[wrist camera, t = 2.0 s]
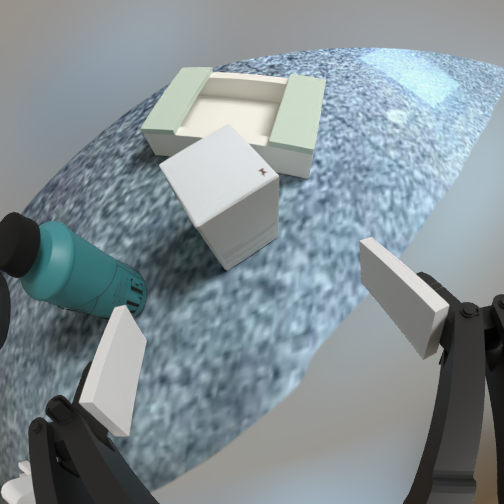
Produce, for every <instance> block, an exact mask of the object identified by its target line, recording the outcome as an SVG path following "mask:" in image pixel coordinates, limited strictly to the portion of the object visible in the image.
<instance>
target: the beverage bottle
mask: <svg viewBox="0 0 504 504" xmlns="http://www.w3.org/2000/svg"><path fill="white" fill-rule="evenodd" d="M127 265H128V264H127ZM128 266H129V265H128ZM128 266H126V264H125V263H121V262H120V260H119V261H118V260H117V259H116V258H113V257H112V256H110V255H107V254H106V253H104V252H103V251H101V250H100V249H98V248H97V247H95V246H94V245H92V244H91V243H89V242H87V241H86V240H84V239H83V238H82V237H80V236H79V235H77V234H76V233H74V232H73V231H71V230H70V229H69V228H68V227H67V226H66V225H64V224H63V223H61V222H57V221H50V222H46V223H44V224H42V225H40V226H38V224H37V223H36V222H35V221H33V220H32V219H30V218H26V217H25V216H23V215H21V214H19V213H16V212H13V213H10V214H8V215H6V216H5V217H4V218H3V220H2V221H1V222H0V270H2V271H4V272H6V273H7V274H8V275H10V276H12V277H15V278H20V280H21V283H22V286H23V288H24V290H25V292H26V293H27V294H28V295H29V296H30V297H31V298H33V299H35V300H38V301H45V302H48V303H49V304H50V303H51V304H54V305H57V306H58V307H59V308H60V306H61V308H62V307H65V308H68V309H67V310H69V311H73V310H74V312H77V311H80V313H81V312H83V313H87V314H86V315H88V314H92V315H96V316H98V317H99V316H101V317H104V318H103V319H107V318H109V319H110V317H111V315H112V312H113V310H114V308H115V307H119V306H123V305H126V306H127V308H128V310H129V312H130V313H131V315H132V317H133V318H134V317H136V316H137V315H138V314H139V313H140V312H141V311H142V309H143V307H144V305H145V302H146V298H147V289H146V284H145V281H144V280H143V278H142V277H141V276H142V275H140V274H139V272H138V271H137V272H136V271H135V270H133V268H132V267H131V268H132V269H131V268H130V266H129V267H128ZM62 309H64V308H62ZM65 310H66V309H65ZM101 317H100V318H101ZM109 319H108V320H109Z"/></svg>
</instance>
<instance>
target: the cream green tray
mask: <svg viewBox="0 0 504 504" xmlns="http://www.w3.org/2000/svg"><path fill="white" fill-rule="evenodd" d="M325 82H326V80H324V79H318V78H313V77H307V76H301V75H295V74H291V75H290V78H289V79H287V78H280V77H272V76H263V75H252V74H239V73H219V72H213V71H212V68H211V67H207V68H206V67H193V68H191V67H190V68H182V69H181V70H180V72H179V73H178V75H177V76H176V77H175V78H174V80H173V81H172V82H171V84H170V85H169V87H168V88H167V89H166V91H165V92H164V94H163V95H162V97H161V98H160V99H159V101H158V102H157V104H156V105H155V107H154V108H153V110H152V111H151V113H150V114H149V116H148V118H147V119H146V121H145V122H144V124H143V125H142V127H141V130H142V132H143V134H144V136H145V137H146V139H147V141H148V143H149V145H150V146H151V148H152V150H153V152H154V153H155V155H161V156H171V157H172V156H174V155H175V154H177V153H179V152H180V151H182V150H184V149H185V148H187V147H189V146H190V145H192V144H194V143H195V142H197V141H199V140H201V139H202V138H204V137H206V136H208V135H210V134H211V133H213V132H215V131H217V130H219V129H220V128H222V127H224V126H226V125H228V124H229V125H231V126H232V127H233V128H234V129H235V130H236V131H237V132H238V133H239V134H240V135H241V136H242V137H243V138H244V139H245V140H246V141H247V143H248V144H249V145H250V146H251V147H252V148H253V149H254V150H255V151H256V152H257V153H258V154H259V155H260V156H261V157H262V158H263V159H264V161H265V162H266V163H267V164H268V165H269V166H270V167H271V168H272V169H273V170H274V171H275V172H277V173H282V174H287V175H292V176H297V177H301V178H306V179H308V178H309V173H310V168H311V163H312V158H313V152H314V147H315V142H316V136H317V131H318V125H319V119H320V114H321V108H322V102H323V95H324V89H325Z"/></svg>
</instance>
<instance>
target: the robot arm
mask: <svg viewBox="0 0 504 504" xmlns="http://www.w3.org/2000/svg"><path fill="white" fill-rule="evenodd" d="M359 243H360V262H361V283H362V284H363V285H364V286H365V287H366V289H367V290H368V291H369V292H370V293H371V295H372V296H373V297H374V298H375V299H376V300H377V302H378V303H379V304H380V305H381V307H382V308H383V309H384V310H385V311H386V313H387V314H388V315H389V316H390V318H391V319H392V320H393V321H394V323H395V324H396V325H397V326H398V328H399V329H400V330H401V331H402V333H403V334H404V335H405V337H406V338H407V339H408V340H409V342H410V343H411V344H412V345H413V347H414V348H415V349H416V351H417V352H418V353H419V355H420V356H421V357H422V359H423V360H424V359H426V358H427V357H429V356H431V355H433V354H435V353H436V352H437V349H438V346H439V343H440V345H441V346H442V347H443V348H444V350H443V353H442V356H441V359H440V361H439V364H441V369H440V378H439V384H438V390H437V396H436V401H435V406H434V411H433V416H432V421H431V425H430V429H429V433H428V437H427V441H426V444H425V448H424V451H423V455H422V458H421V461H420V465H419V468H418V471H417V473H416V476H415V479H414V482H413V485H412V487H411V490H410V492H409V494H408V496H407V497H406V499H405V500H404V502H403V504H472V502H473V499H474V495H475V491H476V481H475V480H474V478H473V473H474V468H475V464H476V459H477V454H478V448H479V442H480V436H481V429H482V420H483V410H484V397H485V376H486V380H487V385H488V390H489V395H490V401H491V407H492V413H493V420H494V428H495V438H496V450H497V489H498V490H497V494H498V503H499V504H504V294H503V295H502V294H500V295H497V296H495V297H494V299H493V302H492V305H491V306H487V307H482V308H479V307H478V306H477V305H475V304H473V303H469V302H463V303H461V302H460V301H459V300H458V299H457V298H456V297H454V296H453V295H452V294H451V293H450V292H449V291H448V290H447V289H445V288H444V287H442V285H441V284H440V283H437V281H436V280H435V279H434V278H433V277H431V276H430V275H428V274H426V273H423V272H419V273H417V274H415V273H414V272H413V271H412V270H410V269H409V268H408V267H407V266H406V265H405V264H403V263H402V262H401V261H400V260H399V259H398V258H396V257H395V256H394V255H393V254H392V253H390V252H389V251H388V250H387V249H385V248H384V247H383V246H382V245H381V244H379V243H378V242H377V241H376V240H374V239H373V238H372V237H370V238H366V239H363V240H360V241H359ZM9 320H10V297H9V290H8V286H7V283H6V280H5V278H4V277H3V275H2V274H1V273H0V348H1V347H2V345H3V343H4V341H5V339H6V335H7V332H8V327H9ZM146 342H147V340H146V339H145V337H144V336H143V334H142V332H141V331H140V329H139V327H138V325H137V324H136V322H135V320H134V319H133V317H132V315H131V313H130V312H129V310H128V308H127V306H126V305H123V306H119V307H115V308H114V310H113V312H112V315H111V317H110V319H109V322H108V324H107V327H106V329H105V331H104V334H103V336H102V339H101V341H100V344H99V346H98V349H97V352H96V354H95V357H94V360H93V361H92V362H89V363H88V365H87V366H86V367H85V369H84V371H83V374H82V376H81V379H80V382H79V385H78V388H77V390H76V393H75V396H74V399H73V402H72V404H71V403H70V402H69V401H68V400H67V399H66V398H65V397H64V396H62V395H57V396H55V397H53V398H52V399H51V400H50V401H49V402H48V404H47V405H46V409H45V412H46V415H47V416H48V417H50V418H51V419H52V420H53V422H50V423H48V422H47V421H46V420H45V419H44V418H41V417H38V418H36V419H34V420H33V421H32V422H31V424H30V426H29V431H28V435H29V455H30V467H31V476H32V484H33V490H34V496H35V502H36V504H159V503H158V502H157V501H156V500H155V498H154V497H153V496H152V495H151V494H150V492H149V491H148V490H147V489H146V488H145V486H144V485H143V484H142V483H141V481H140V480H139V479H138V477H137V476H136V475H135V474H134V472H133V471H132V470H131V468H130V467H129V465H128V464H127V463H126V461H125V460H124V458H123V457H122V456H121V454H120V453H119V451H118V450H117V448H116V447H115V445H114V444H113V442H112V441H111V439H110V438H109V437H107V434H108V430H109V431H110V432H111V433H112V434H113V435H114V436H129V433H130V426H131V419H132V413H133V407H134V401H135V396H136V390H137V385H138V379H139V374H140V369H141V365H142V360H143V355H144V351H145V346H146ZM56 457H57V458H58V462H57V459H56Z"/></svg>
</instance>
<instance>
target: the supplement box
mask: <svg viewBox="0 0 504 504" xmlns="http://www.w3.org/2000/svg"><path fill="white" fill-rule="evenodd" d="M159 167H160V169H161V170H162V172H163V174H164V176H165V178H166V179H167V181H168V183H169V185H170V187H171V188H172V190H173V192H174V194H175V195H176V197H177V199H178V201H179V202H180V204H181V205H182V207H183V209H184V210H185V212H186V214H187V215H188V217H189V219H190V220H191V222H192V223H193V225H194V227H195V228H196V229H197V230H198V232H199V233H200V234H201V236H202V237H203V239H204V240H205V242H206V243H207V245H208V246H209V248H210V249H211V250H212V252H213V253H214V255H215V256H216V258H217V259H218V261H219V262H220V263H221V265H222V266H223V267H224V269H225V270H226V271H228V270H229V269H231V268H232V267H234V266H235V265H237V264H238V263H240V262H241V261H243V260H244V259H246V258H247V257H249V256H250V255H252V254H253V253H255V252H256V251H258V250H259V249H261V248H262V247H264V246H265V245H267V244H268V243H270V242H271V241H273V240H274V239H276V238H277V237H278V217H279V175H278V174H277V173H276V172H275V171H274V170H273V169H272V168H271V167H270V166H269V165H268V164H267V163H266V162H265V161H264V159H263V158H262V157H261V156H260V155H259V154H258V153H257V152H256V151H255V150H254V149H253V148H252V147H251V146H250V145H249V144H248V143H247V141H246V140H245V139H244V138H243V137H242V136H241V135H240V134H239V133H238V132H237V131H236V130H235V129H234V128H233V127H232V126H231V125H229V124H228V125H226V126H224V127H222V128H220V129H219V130H217V131H215V132H213V133H211V134H210V135H208V136H206V137H204V138H202V139H201V140H199V141H197V142H195V143H194V144H192V145H190V146H189V147H187V148H185V149H184V150H182V151H180V152H179V153H177V154H175V155H174V156H172V157H170V158H169V159H167V160H166V161H164V162H162V163H161V164H159Z"/></svg>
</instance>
